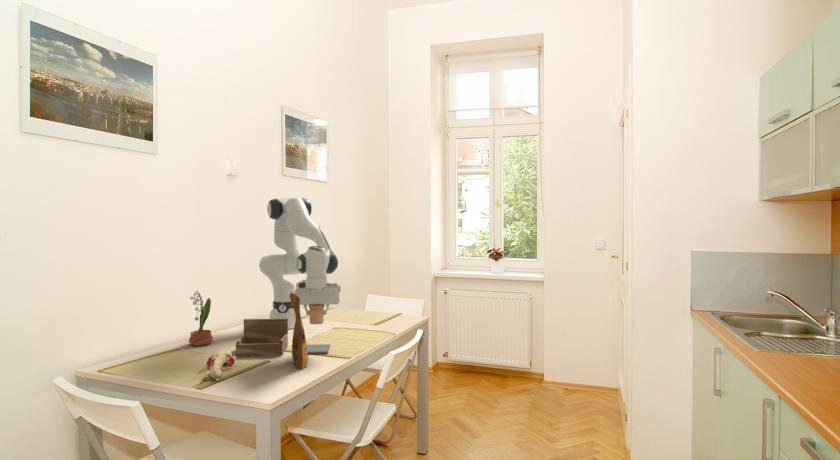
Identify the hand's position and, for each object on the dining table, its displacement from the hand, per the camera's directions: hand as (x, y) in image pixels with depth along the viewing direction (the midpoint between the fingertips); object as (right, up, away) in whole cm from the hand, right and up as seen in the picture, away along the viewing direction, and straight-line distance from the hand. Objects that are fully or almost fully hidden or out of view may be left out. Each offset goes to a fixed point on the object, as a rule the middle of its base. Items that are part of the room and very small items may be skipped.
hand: (316, 314), depth 206 cm
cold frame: (-23, -16, -2) cm, 28 cm away
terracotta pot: (0, -4, 0) cm, 4 cm away
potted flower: (-55, -16, +8) cm, 58 cm away
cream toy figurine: (-31, -16, -28) cm, 45 cm away
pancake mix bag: (-3, -16, -19) cm, 25 cm away
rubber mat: (0, -16, 0) cm, 16 cm away
